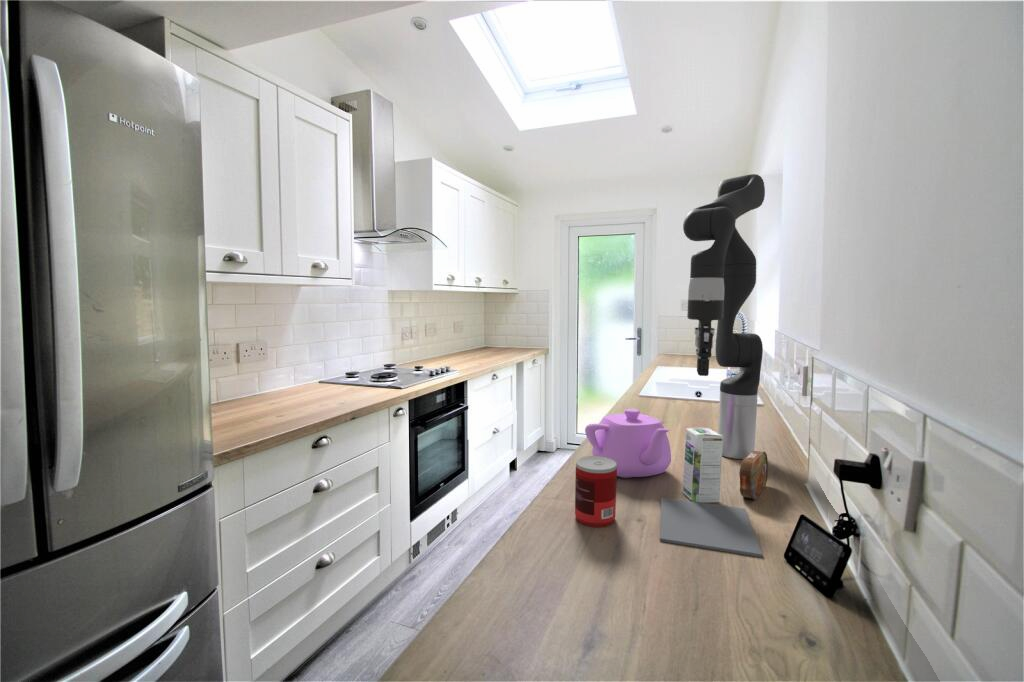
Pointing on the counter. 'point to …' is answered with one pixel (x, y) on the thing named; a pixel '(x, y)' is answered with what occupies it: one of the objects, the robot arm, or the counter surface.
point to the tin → (753, 474)
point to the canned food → (595, 491)
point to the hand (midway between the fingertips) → (702, 373)
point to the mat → (708, 526)
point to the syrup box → (702, 465)
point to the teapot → (631, 443)
